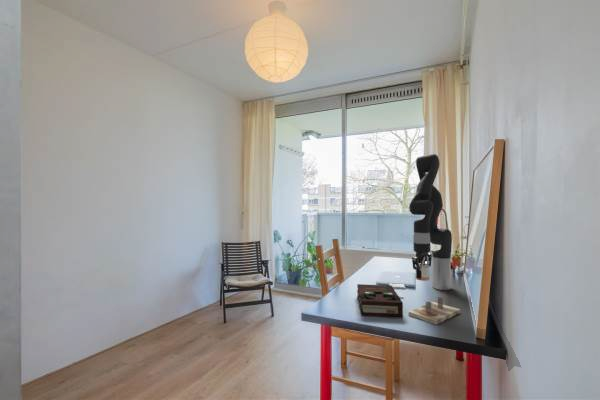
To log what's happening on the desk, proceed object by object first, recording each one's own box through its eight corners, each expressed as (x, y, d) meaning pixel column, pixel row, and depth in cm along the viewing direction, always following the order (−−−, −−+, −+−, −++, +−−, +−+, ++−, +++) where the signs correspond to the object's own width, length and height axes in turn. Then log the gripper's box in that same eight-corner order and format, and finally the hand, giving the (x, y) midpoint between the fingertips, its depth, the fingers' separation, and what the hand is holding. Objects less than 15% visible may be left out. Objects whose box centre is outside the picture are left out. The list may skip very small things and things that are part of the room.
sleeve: (420, 276, 142) (419, 264, 142) (431, 279, 137) (430, 266, 137) (413, 278, 138) (413, 266, 138) (424, 281, 134) (424, 268, 134)
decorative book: (392, 282, 147) (407, 302, 117) (393, 297, 147) (407, 321, 117) (354, 281, 149) (359, 300, 120) (354, 295, 149) (359, 318, 119)
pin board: (433, 304, 134) (432, 292, 134) (459, 312, 125) (459, 298, 125) (408, 315, 122) (408, 301, 122) (436, 324, 113) (436, 309, 113)
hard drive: (388, 280, 173) (390, 286, 161) (402, 281, 171) (405, 287, 159) (388, 283, 173) (390, 289, 161) (402, 284, 171) (405, 290, 159)
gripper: (422, 239, 145) (422, 273, 145) (406, 242, 136) (406, 278, 136) (437, 241, 139) (437, 275, 139) (421, 244, 131) (421, 281, 131)
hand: (422, 276), depth 138 cm, fingers closed on sleeve, 5 cm apart
